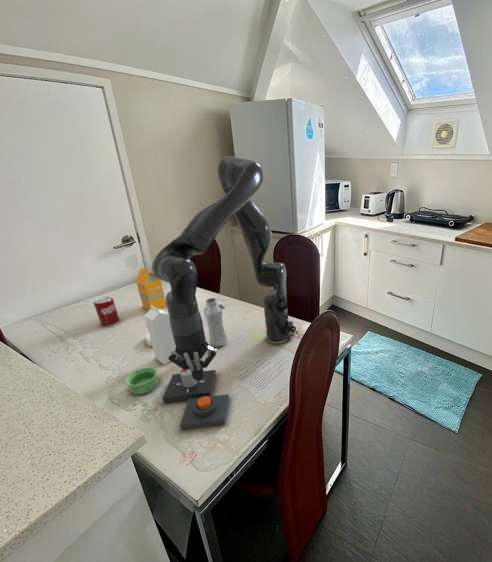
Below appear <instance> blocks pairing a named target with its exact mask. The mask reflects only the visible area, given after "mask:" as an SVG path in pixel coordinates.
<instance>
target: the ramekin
mask: <svg viewBox="0 0 492 562" xmlns="http://www.w3.org/2000/svg"><path fill="white" fill-rule="evenodd" d="M158 382H159V380H158V371H157V369H156V368H155V367H148V366H147V367H142V368H139V369H137V370H134V371H133V372H131V373H130V374H129V375H128V376H127V377H126V379H125V384H126V385H127V386H128V388H129V390H130V392H131V393H132V394H134V395H144V394H147V393H150V392H151V391H153V390H154V389H155V388H156V387H157V385H158V384H159V383H158Z"/></svg>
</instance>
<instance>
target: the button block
mask: <svg viewBox="0 0 492 562" xmlns="http://www.w3.org/2000/svg"><path fill="white" fill-rule="evenodd" d="M208 397H210V400H211V406H210V407H209V408H207V409H205V410H201V409H199V408H198V403H197V402H198V400H199V399H200V398H194V399H189V400H188V401H187V403H186V406H185V409H184V412H183V415H182V418H181V422H180V424H179V426H180V431H191V430H196V429H197V430H198V429H204V428H212V427H220V426H225V425H226V422H227V416H228V410H229V405H230V395H229V394H227V393H226V394H220V395H211V396H208Z"/></svg>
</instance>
